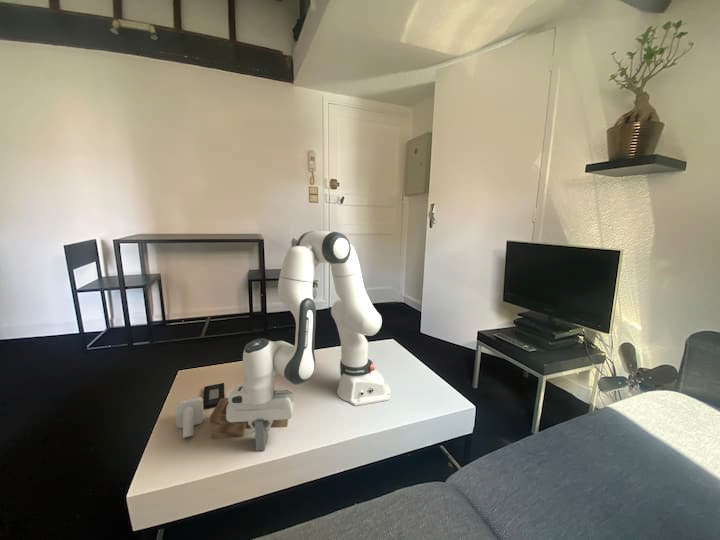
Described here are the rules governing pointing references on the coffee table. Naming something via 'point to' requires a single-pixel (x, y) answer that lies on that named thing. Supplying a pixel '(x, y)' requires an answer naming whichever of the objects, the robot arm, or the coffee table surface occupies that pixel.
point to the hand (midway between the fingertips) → (261, 430)
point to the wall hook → (189, 414)
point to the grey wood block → (261, 434)
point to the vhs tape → (213, 395)
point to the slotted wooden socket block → (232, 423)
